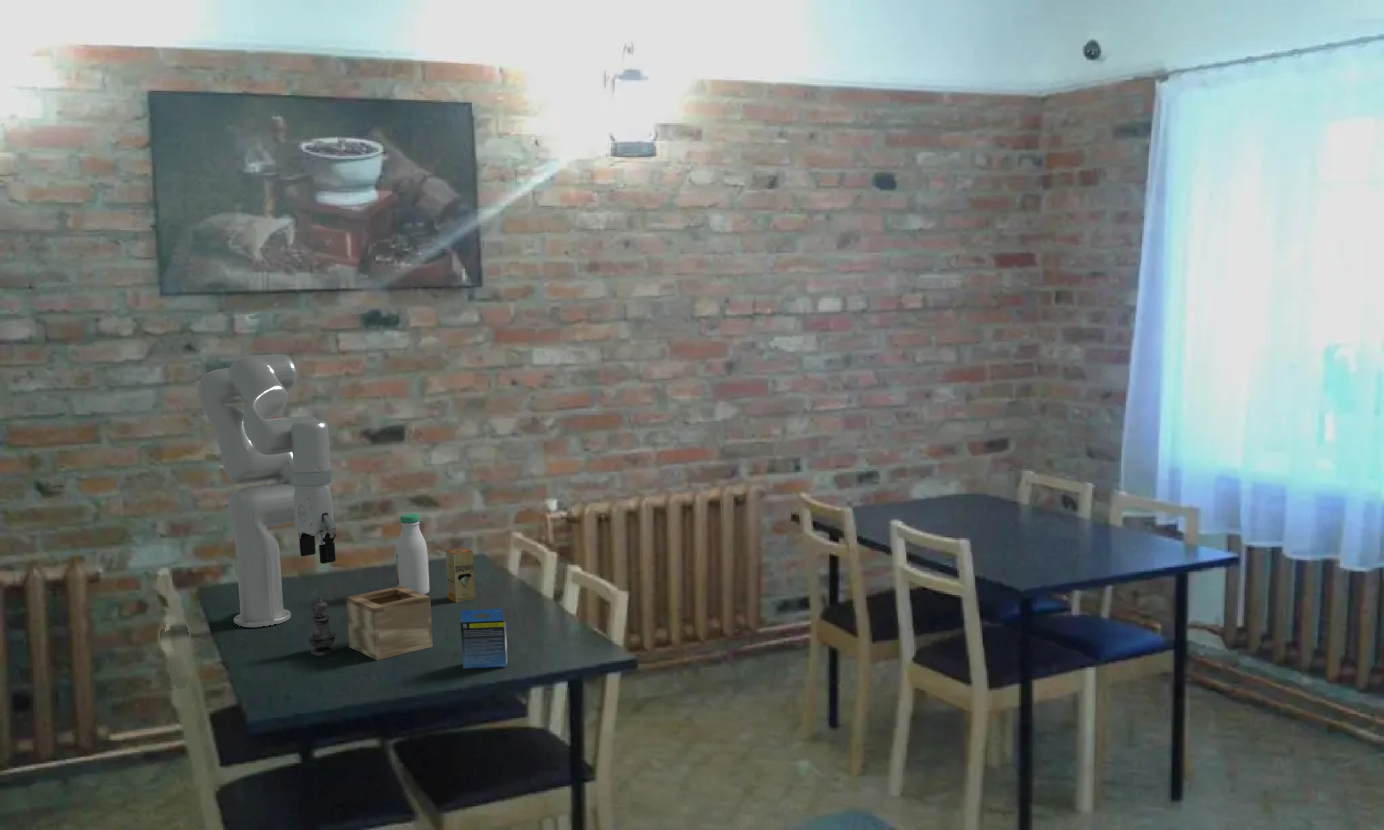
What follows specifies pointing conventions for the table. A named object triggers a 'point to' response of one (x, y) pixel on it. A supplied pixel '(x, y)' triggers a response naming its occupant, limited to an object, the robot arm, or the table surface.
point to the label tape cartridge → (483, 638)
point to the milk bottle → (412, 556)
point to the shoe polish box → (460, 575)
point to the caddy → (389, 622)
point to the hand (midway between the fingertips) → (317, 558)
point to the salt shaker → (321, 630)
